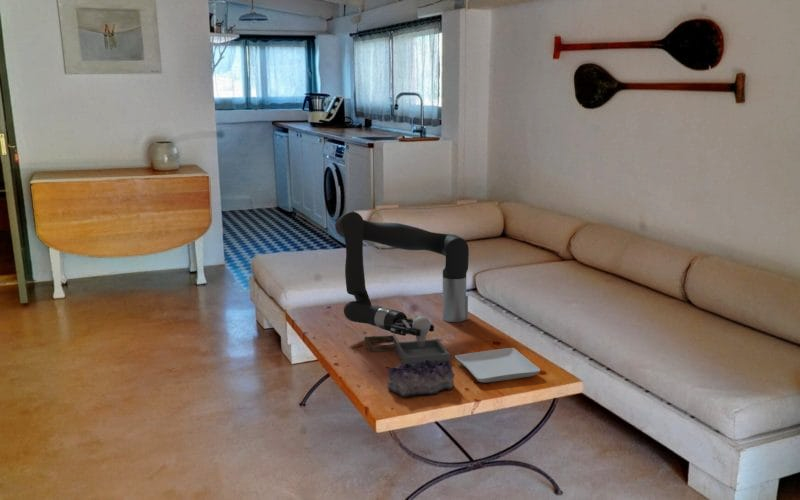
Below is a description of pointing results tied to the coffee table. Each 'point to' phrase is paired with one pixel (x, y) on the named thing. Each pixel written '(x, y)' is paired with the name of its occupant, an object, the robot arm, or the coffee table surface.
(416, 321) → the lightbulb
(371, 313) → the robot arm
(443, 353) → the tray
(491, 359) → the salad plate
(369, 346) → the square wooden frame
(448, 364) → the geode
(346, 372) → the coffee table surface
